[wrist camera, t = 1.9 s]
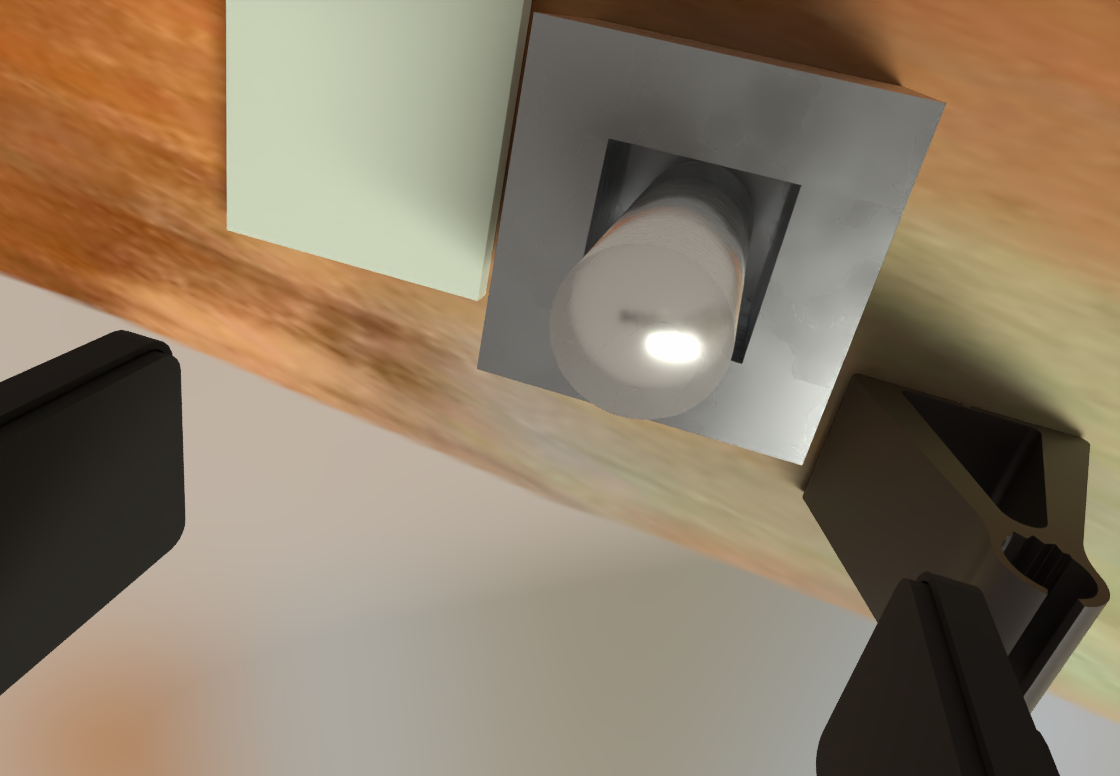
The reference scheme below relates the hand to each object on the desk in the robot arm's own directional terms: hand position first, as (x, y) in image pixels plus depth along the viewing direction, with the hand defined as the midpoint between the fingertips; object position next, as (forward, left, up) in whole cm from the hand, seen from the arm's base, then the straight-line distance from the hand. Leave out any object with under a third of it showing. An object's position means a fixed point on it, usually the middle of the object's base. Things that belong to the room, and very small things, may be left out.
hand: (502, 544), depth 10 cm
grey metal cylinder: (0, 0, -20) cm, 20 cm away
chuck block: (0, 0, -23) cm, 23 cm away
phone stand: (-12, +8, -23) cm, 27 cm away
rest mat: (+14, 0, -23) cm, 27 cm away
